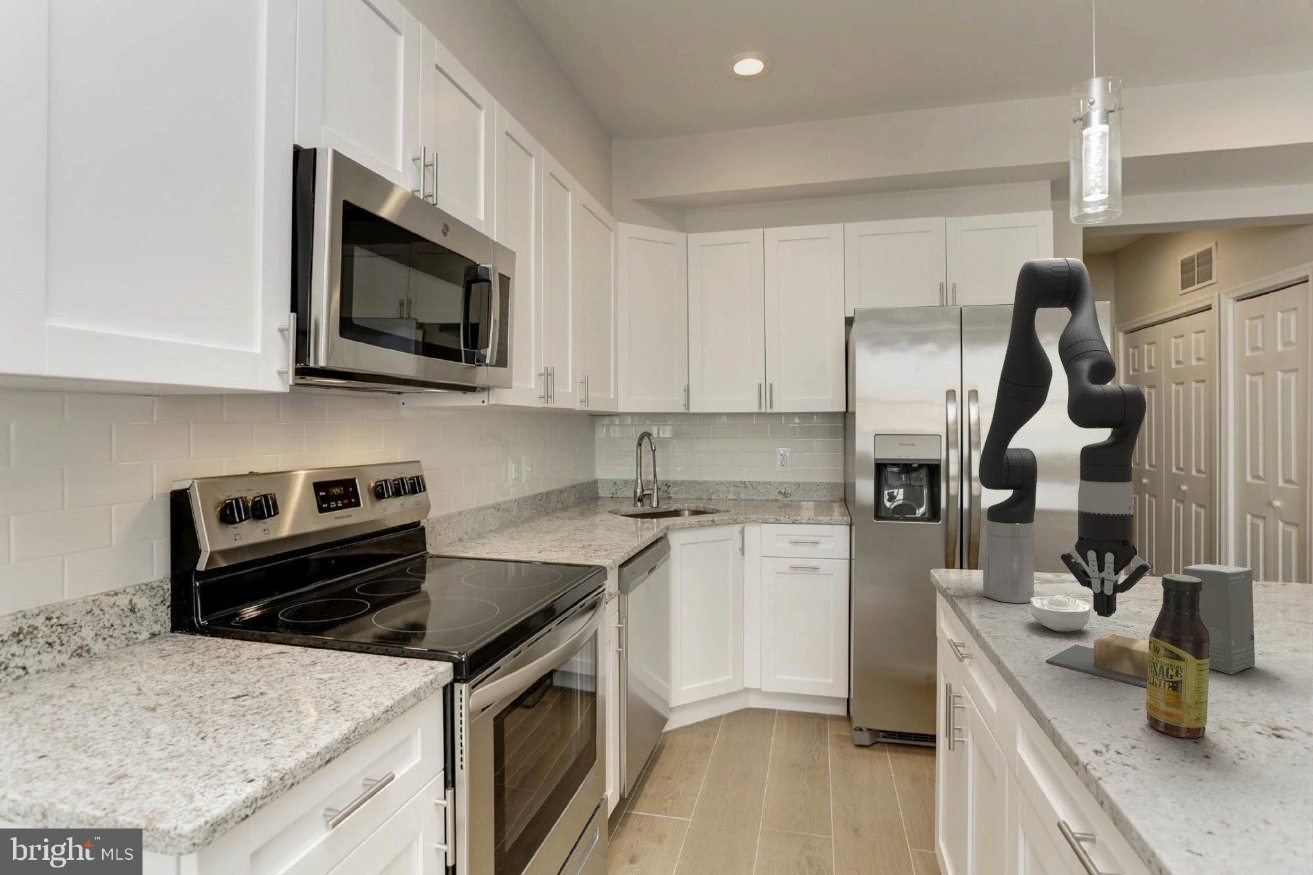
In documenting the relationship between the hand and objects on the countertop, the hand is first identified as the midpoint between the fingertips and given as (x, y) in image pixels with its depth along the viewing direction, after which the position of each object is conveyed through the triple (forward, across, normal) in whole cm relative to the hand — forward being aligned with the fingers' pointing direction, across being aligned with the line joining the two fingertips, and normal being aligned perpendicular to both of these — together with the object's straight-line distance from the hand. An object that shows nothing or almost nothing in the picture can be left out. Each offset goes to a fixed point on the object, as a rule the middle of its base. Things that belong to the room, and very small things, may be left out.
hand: (1104, 615), depth 111 cm
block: (+6, -1, 0) cm, 6 cm away
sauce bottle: (+8, +14, -19) cm, 25 cm away
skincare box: (+8, +12, +14) cm, 20 cm away
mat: (+8, +2, 0) cm, 8 cm away
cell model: (+8, -12, +15) cm, 21 cm away
